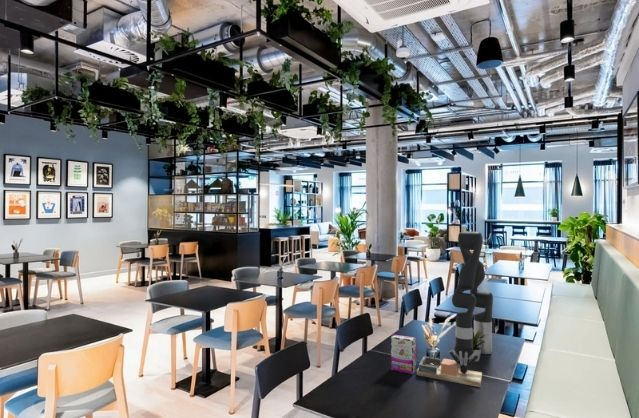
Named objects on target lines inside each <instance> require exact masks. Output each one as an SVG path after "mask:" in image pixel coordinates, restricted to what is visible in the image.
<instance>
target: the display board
mask: <svg viewBox="0 0 639 418" xmlns="http://www.w3.org/2000/svg"><path fill="white" fill-rule="evenodd" d="M429 357H430V356H422V359H421V360H420V362H419V364H418V368H416V376H421V377H426V378H429V379H430V378H431V379H436V380H441V381H445V382H446V381H447V382H451V383H457V384H462V385H466V386H473V387H478V388H481V386H482V385H481V384H482V379H483V372H482V371H475V370H472V369H471V370H470V369H467V373H465V374H463V373H462V372H461V371H460V367H459V371H458V374H457V376H454V375H448V374H443V373H441V358H437V357H436V358H435V357H431V358H429ZM434 358H435V359H434ZM430 363H433V364H434V365H431V364H430Z"/></svg>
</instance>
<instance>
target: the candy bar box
mask: <svg viewBox="0 0 639 418" xmlns="http://www.w3.org/2000/svg"><path fill="white" fill-rule="evenodd" d="M416 344H417V343H416V337H413V336H406V335H399V334H393V335H391V337H390V371H393V370H395V371H394V372H398V371H399V372H398V373H403V372H404V373H403V374H409V375H414V374H415V373H416V371H417V368H416V366H417V362H416V346H415V345H416Z"/></svg>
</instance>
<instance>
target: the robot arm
mask: <svg viewBox="0 0 639 418" xmlns="http://www.w3.org/2000/svg"><path fill="white" fill-rule="evenodd" d="M483 239H484V238H483V235H482V233H481V232H479V231H461V232H459V233H458V235H457V243H458V247H459V249H460V254H461V257H462V259H463V260H462V261H463V265H462V267H461V269H460V270H459V275H458V276H459V277H458V283H457V286H456V289H455V291H454V293H453V294H452V297H451V303H452V305H453V306H454V307H455V308H458V309H459V308H460V309H466V311H461V312H457V313H456V316H455V329H454V330H455V332H454V334H455V336H454V338H455V343H454V344H455V345H454V349H451V350H450V351H449V354H450V356H451V358H452V360H455V361H456V363H458V364H459V365H460V366H459V368H460V371H461V372H462V373H463V374H465V373H467V370H468V366H471V365H473V363H475V360H476V359H477V358H478V354H475V353H474V350H473V331H474V337H475V335H476V333H477V332H478V330H479V332H480V331H482V332H481V334H480V337H481V336H482V335H484V338H481V339H478V341H479V340H483V341H485V340H487V341H485V343H482V344H484V346H483V345H482V344H481V345H479V346H478V347H480V348H481V353H480V355H481V354H482V355H490V354H492V350H493V349H492V348H493V345H492V344H493V341H492V339H493V305H494V303H493V302H494V295H493V293H492V292H490V291H486V290H478V288H479V286H481V284H482V283H483V282H484V280H485V278H486V272H485V266H484V264H483V263H482V261H480V257H481V253H482V248H483ZM466 291H469V292H466ZM475 308H481V309H484V311H482V312H481V311H480V312H476V313H474V311H475ZM472 328H473V331H472ZM485 334H488V335H485ZM482 337H483V336H482ZM480 342H482V341H480ZM480 342H478V343H480ZM478 343H477V344H478ZM472 354H473V356H472V357H473V358H472V359H471V360H469V357H470V356H471V355H472ZM458 357H459V358H458ZM468 360H469V361H468Z"/></svg>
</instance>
